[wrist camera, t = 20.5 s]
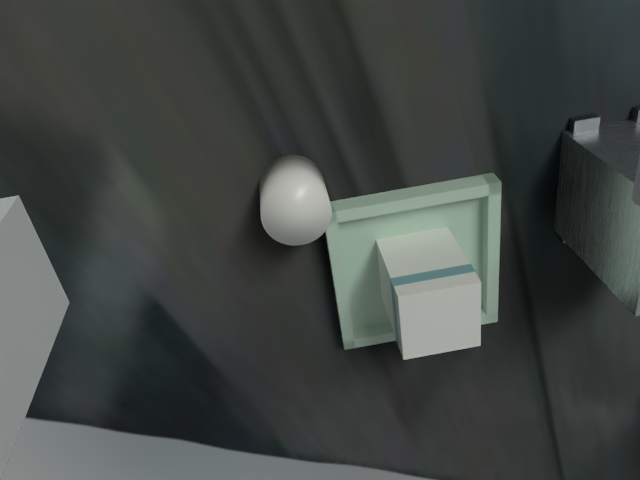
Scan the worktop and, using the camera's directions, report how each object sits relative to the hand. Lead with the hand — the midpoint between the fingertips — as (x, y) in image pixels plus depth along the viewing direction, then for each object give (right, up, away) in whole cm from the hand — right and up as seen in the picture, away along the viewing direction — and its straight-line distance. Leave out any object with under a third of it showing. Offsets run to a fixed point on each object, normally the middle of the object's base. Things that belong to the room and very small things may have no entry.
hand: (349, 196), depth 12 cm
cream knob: (-3, +3, +32) cm, 33 cm away
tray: (+7, -3, +37) cm, 38 cm away
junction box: (+23, +4, +35) cm, 42 cm away
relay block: (+7, -3, +37) cm, 37 cm away
